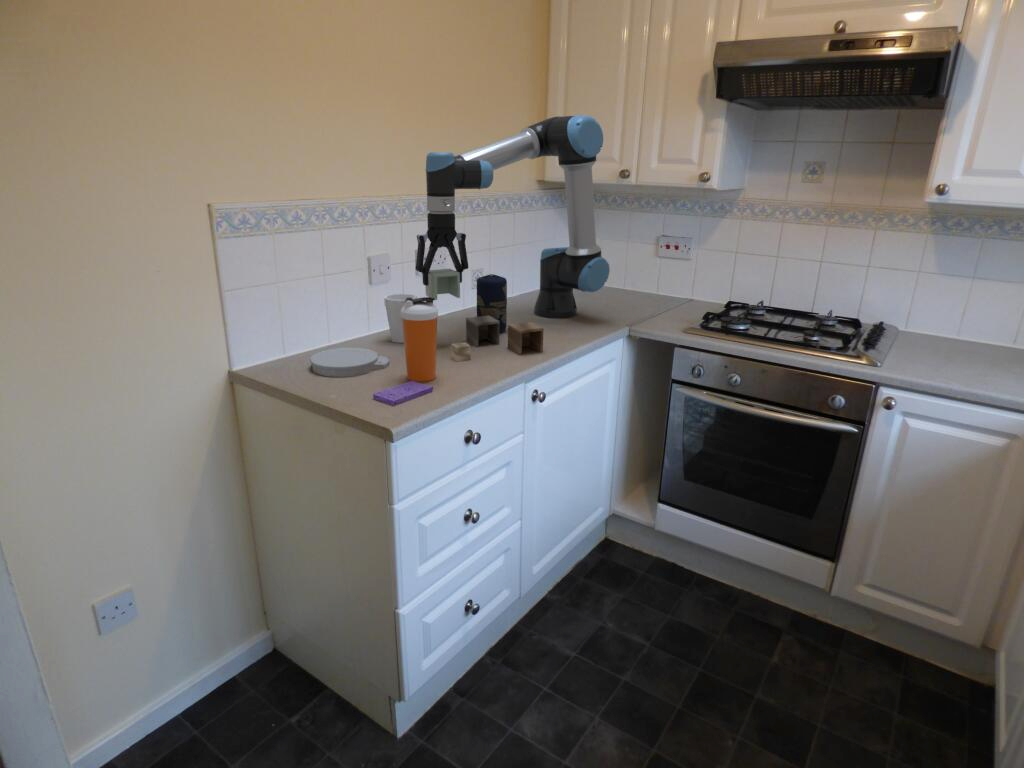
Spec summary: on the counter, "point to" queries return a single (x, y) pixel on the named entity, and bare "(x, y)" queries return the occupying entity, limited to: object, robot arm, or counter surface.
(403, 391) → the sponges
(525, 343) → the cover walnut
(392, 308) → the foam cup
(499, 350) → the counter surface
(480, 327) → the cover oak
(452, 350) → the maple cube
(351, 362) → the lid
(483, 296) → the canister
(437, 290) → the cover green
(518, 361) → the counter surface
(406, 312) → the shaker bottle
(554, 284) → the robot arm
